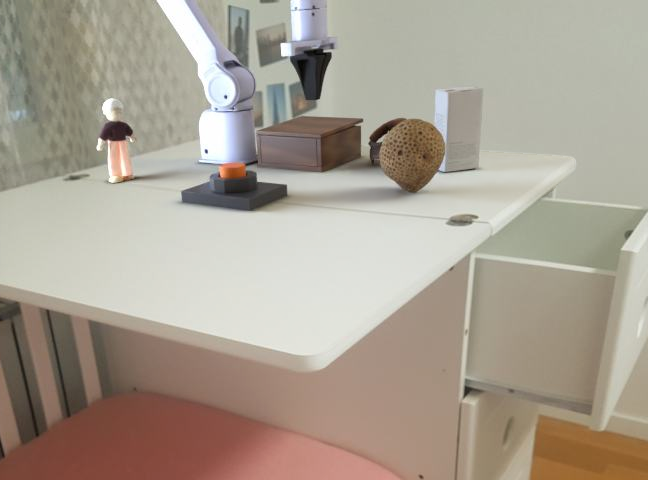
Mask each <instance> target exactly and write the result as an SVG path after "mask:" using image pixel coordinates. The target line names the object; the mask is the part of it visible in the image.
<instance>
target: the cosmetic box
mask: <svg viewBox="0 0 648 480" xmlns="http://www.w3.org/2000/svg"><path fill="white" fill-rule="evenodd" d="M483 99H484V87H480V86H472V85H468V86H457V87H447V88H446V87H445V88H437V89H435V98H434V124H433V125H434V126H435V127H436V128H437V130H438V131H439V132H440V133H441V135H442V137H443V139H444V142H445V155H444V159H443V162H442V164H441V166H440V168H439V170H438V171H440V172H443V173H449V172H457V171H465V170H466V171H467V170H472V169H473V170H474V169H478V168H479V166H480V165H479V164H480V149H481V148H480V147H481V134H482V117H483V102H484V101H483Z"/></svg>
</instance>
